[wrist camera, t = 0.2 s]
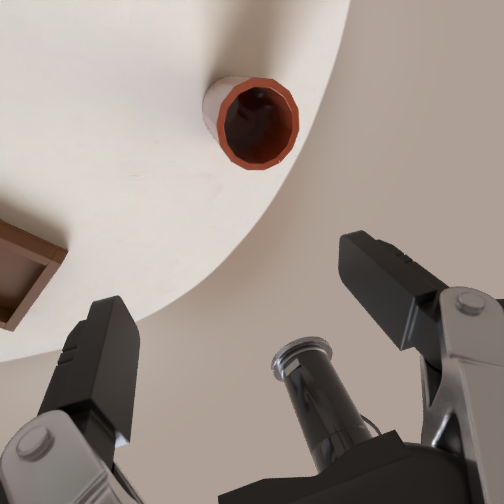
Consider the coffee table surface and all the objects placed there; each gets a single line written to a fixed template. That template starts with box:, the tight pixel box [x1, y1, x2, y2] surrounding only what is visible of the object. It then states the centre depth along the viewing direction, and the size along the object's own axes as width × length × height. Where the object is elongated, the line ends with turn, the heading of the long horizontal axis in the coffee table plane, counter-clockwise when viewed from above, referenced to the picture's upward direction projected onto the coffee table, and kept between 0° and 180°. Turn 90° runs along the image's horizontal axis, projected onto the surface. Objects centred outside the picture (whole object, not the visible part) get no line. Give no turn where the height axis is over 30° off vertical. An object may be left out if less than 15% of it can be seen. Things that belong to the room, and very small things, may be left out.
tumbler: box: [202, 76, 299, 170], centre depth 23 cm, size 6×6×10 cm
